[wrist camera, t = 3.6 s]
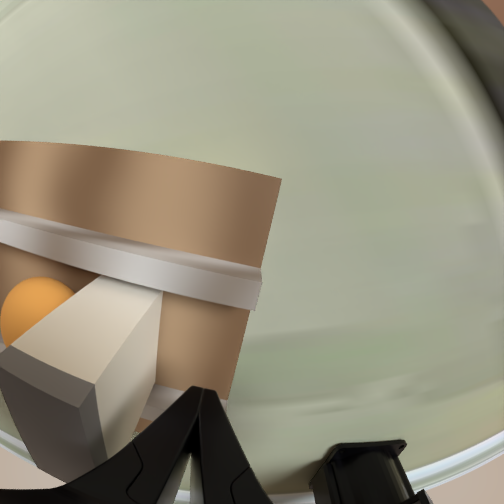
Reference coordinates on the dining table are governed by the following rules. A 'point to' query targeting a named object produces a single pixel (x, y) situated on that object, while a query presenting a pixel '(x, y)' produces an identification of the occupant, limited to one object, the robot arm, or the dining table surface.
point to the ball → (30, 305)
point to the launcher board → (144, 245)
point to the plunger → (84, 375)
